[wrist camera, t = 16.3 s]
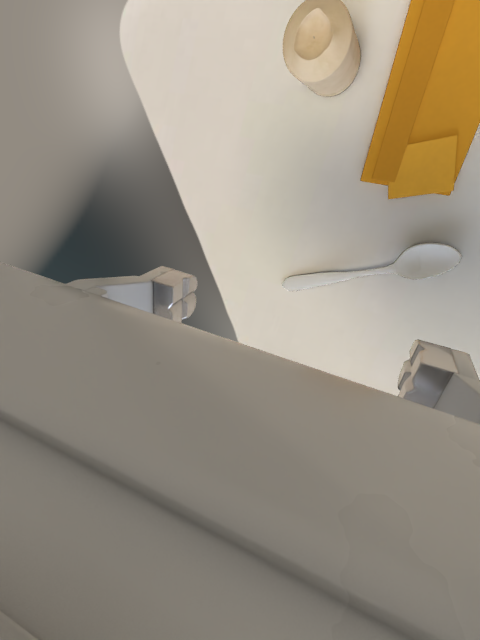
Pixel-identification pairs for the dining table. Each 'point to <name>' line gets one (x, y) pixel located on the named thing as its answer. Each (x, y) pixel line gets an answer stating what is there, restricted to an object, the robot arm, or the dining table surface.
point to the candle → (322, 46)
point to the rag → (429, 101)
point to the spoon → (390, 267)
